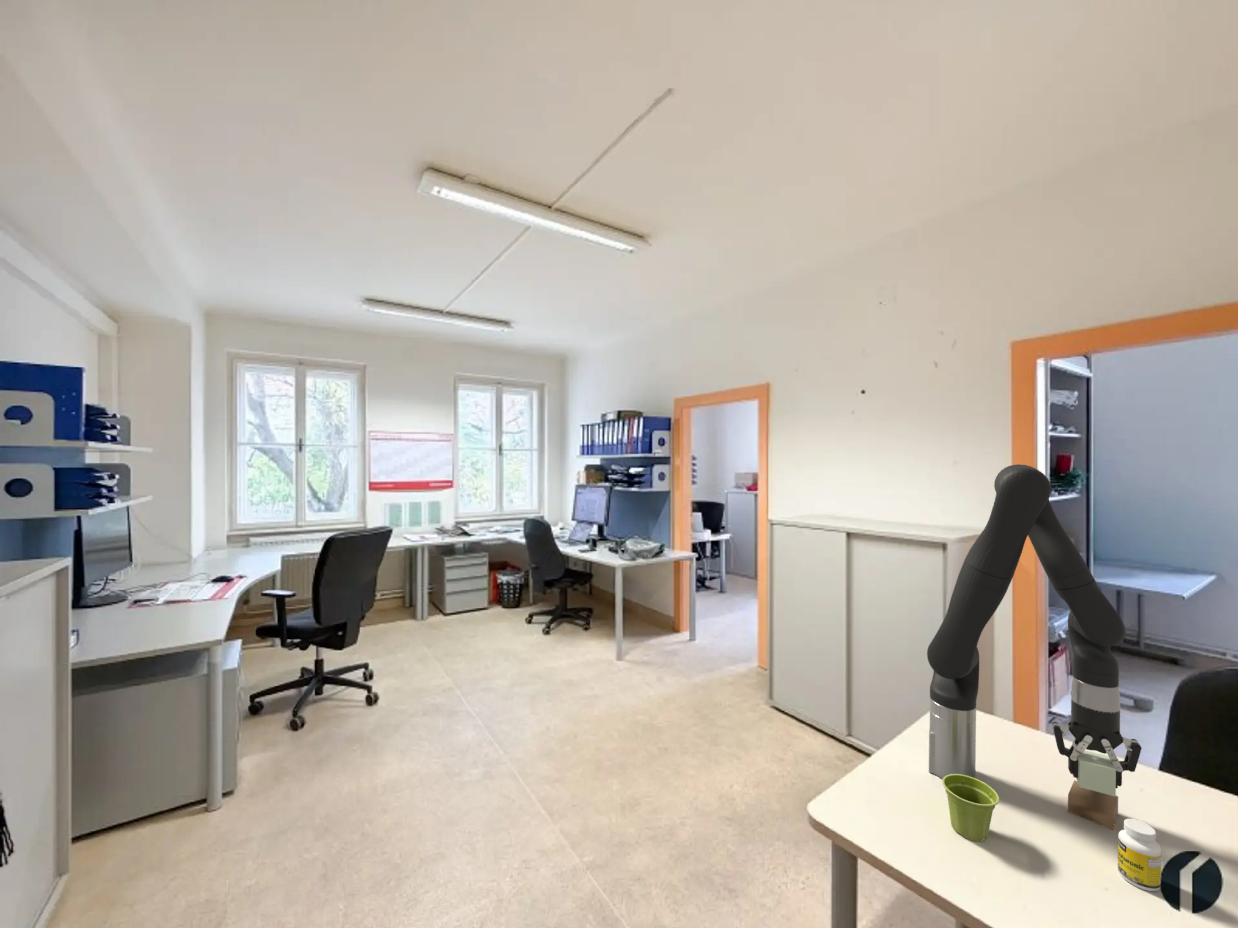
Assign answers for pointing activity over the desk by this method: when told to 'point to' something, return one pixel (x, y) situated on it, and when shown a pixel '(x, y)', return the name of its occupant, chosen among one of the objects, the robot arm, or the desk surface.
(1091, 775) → the sage cube
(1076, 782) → the walnut block
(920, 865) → the desk surface
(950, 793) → the plant pot
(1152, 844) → the supplement bottle
